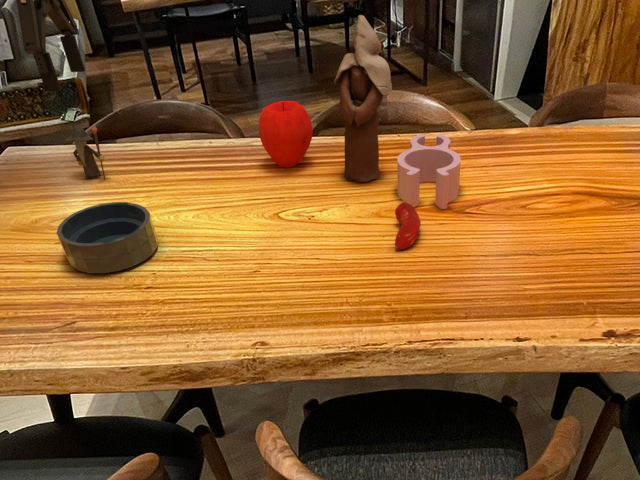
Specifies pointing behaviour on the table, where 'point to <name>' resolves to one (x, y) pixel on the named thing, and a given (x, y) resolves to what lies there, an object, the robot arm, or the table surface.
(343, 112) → the sculpture
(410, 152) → the clip
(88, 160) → the wizard figurine
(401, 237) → the vegetable
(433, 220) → the table surface
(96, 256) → the basin
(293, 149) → the apple
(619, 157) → the table surface
